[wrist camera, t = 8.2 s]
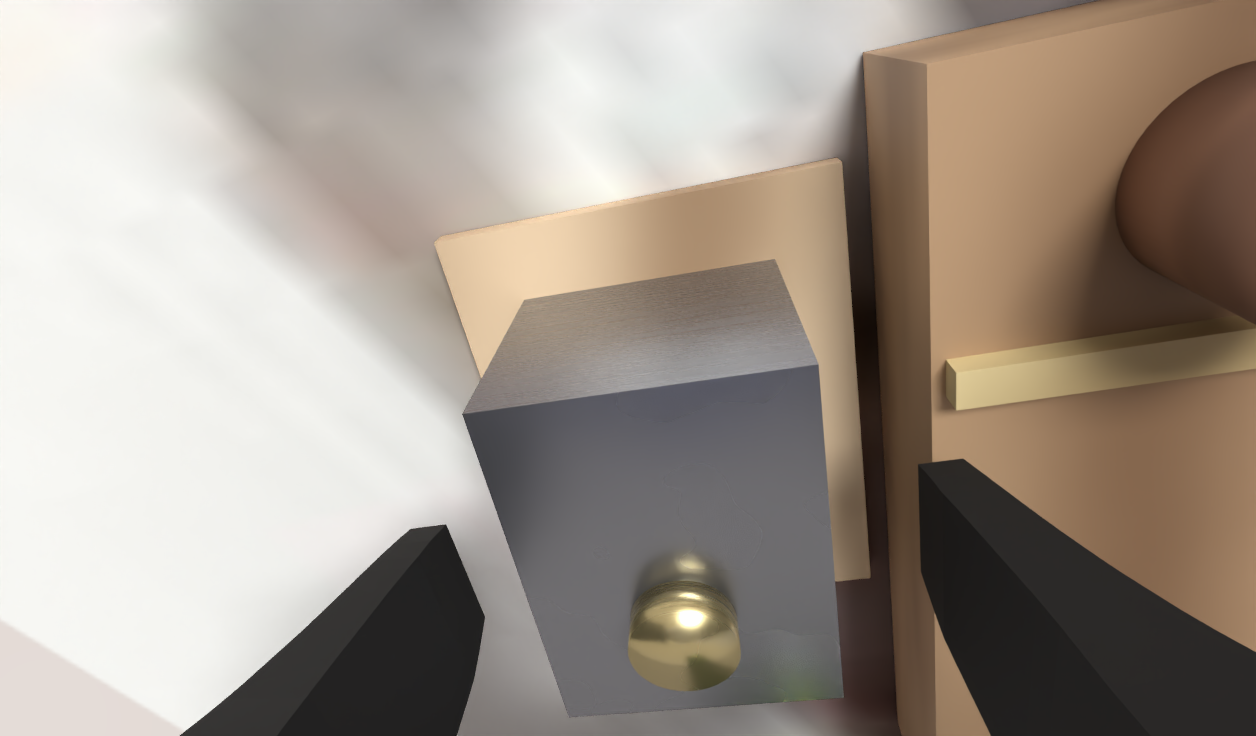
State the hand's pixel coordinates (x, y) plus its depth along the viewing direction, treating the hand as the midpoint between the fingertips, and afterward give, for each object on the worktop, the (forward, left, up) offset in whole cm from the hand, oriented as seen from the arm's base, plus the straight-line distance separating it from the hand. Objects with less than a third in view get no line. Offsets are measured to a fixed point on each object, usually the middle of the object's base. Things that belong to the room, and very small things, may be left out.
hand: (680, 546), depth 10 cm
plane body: (-7, +2, -4) cm, 9 cm away
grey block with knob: (0, 0, -3) cm, 3 cm away
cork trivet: (0, 0, -4) cm, 4 cm away
